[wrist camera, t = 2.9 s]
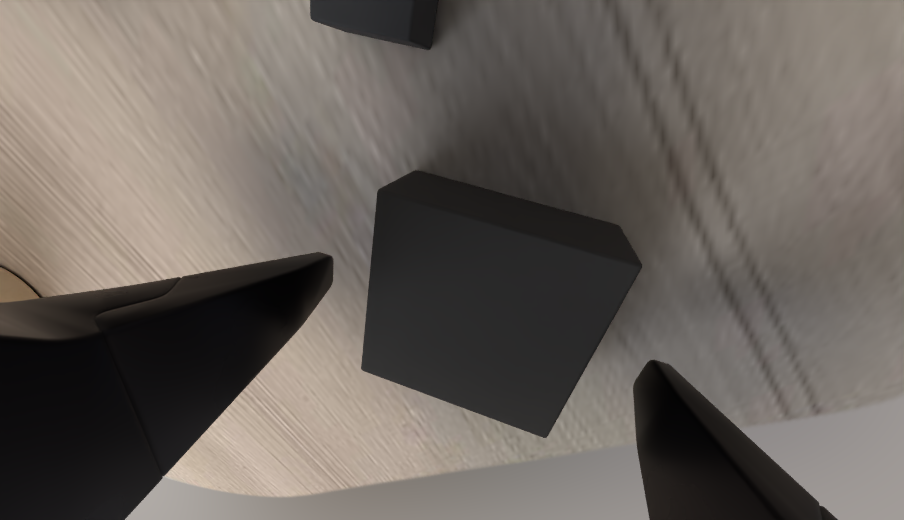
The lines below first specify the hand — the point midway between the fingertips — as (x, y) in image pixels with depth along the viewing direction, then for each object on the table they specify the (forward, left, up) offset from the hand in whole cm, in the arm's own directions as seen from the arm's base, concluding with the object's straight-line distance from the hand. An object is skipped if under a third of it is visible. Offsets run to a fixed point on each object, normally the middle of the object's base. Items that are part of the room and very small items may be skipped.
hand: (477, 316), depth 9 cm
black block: (0, 0, -2) cm, 2 cm away
